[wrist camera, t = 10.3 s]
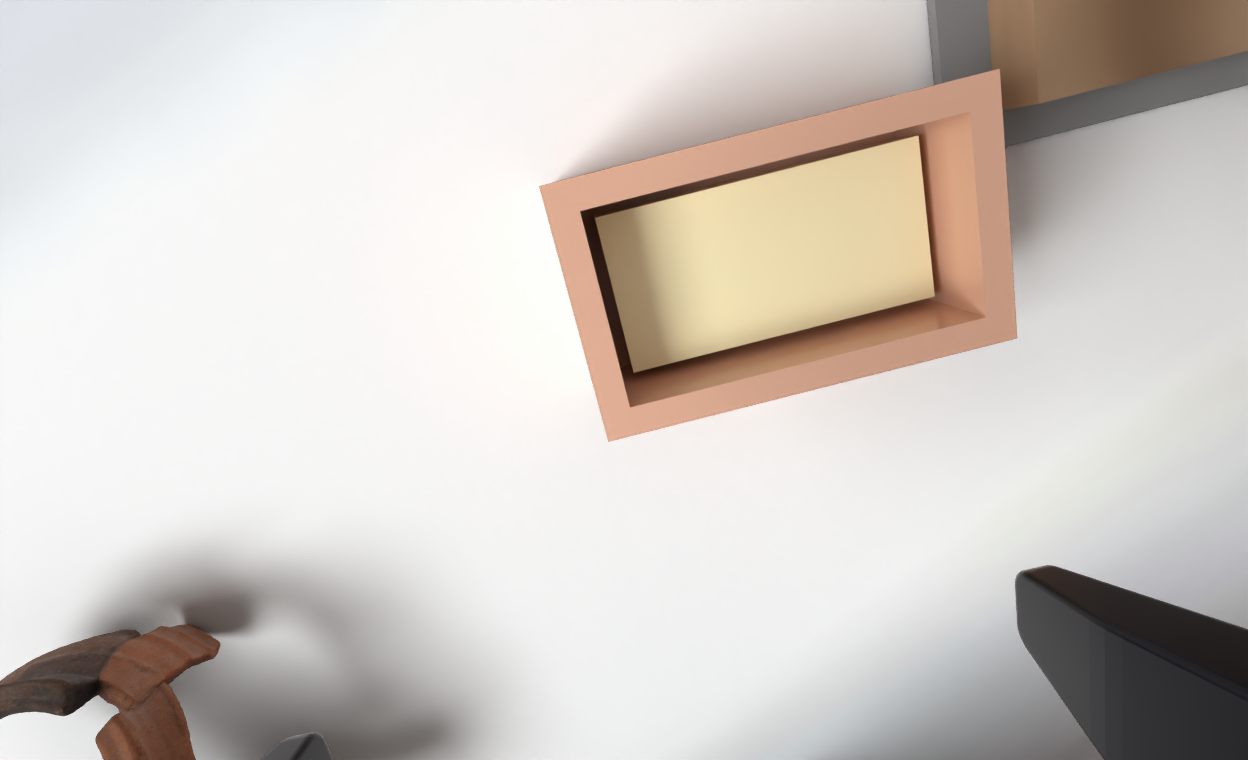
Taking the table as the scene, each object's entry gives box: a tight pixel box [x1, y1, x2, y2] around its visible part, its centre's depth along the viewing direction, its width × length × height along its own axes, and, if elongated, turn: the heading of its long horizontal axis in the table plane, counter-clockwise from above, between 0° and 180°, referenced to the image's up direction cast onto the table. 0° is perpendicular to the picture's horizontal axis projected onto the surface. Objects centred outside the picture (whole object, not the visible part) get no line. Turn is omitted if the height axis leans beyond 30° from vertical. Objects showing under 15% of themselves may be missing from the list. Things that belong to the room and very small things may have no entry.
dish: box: [539, 69, 1017, 442], centre depth 17 cm, size 6×10×4 cm, turn 104°
